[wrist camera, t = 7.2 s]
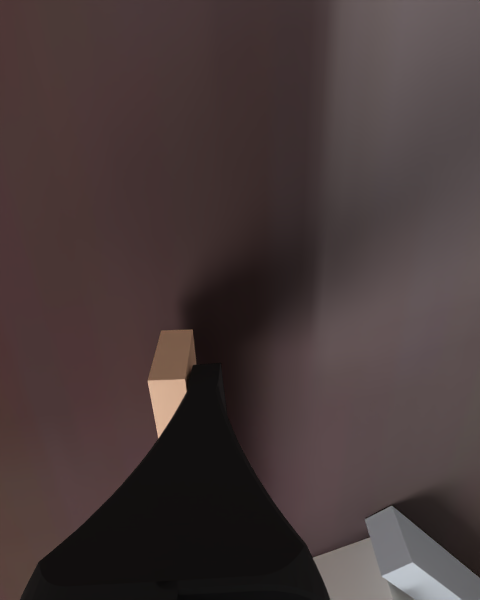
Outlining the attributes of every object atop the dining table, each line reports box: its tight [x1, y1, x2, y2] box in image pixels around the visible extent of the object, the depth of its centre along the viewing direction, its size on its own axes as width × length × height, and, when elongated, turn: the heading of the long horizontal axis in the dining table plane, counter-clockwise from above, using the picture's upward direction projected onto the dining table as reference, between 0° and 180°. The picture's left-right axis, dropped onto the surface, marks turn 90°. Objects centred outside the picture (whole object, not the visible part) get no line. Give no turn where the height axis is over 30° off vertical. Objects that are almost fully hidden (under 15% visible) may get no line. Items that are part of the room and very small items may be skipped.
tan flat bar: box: [148, 329, 196, 438], centre depth 16 cm, size 17×1×4 cm, turn 2°
